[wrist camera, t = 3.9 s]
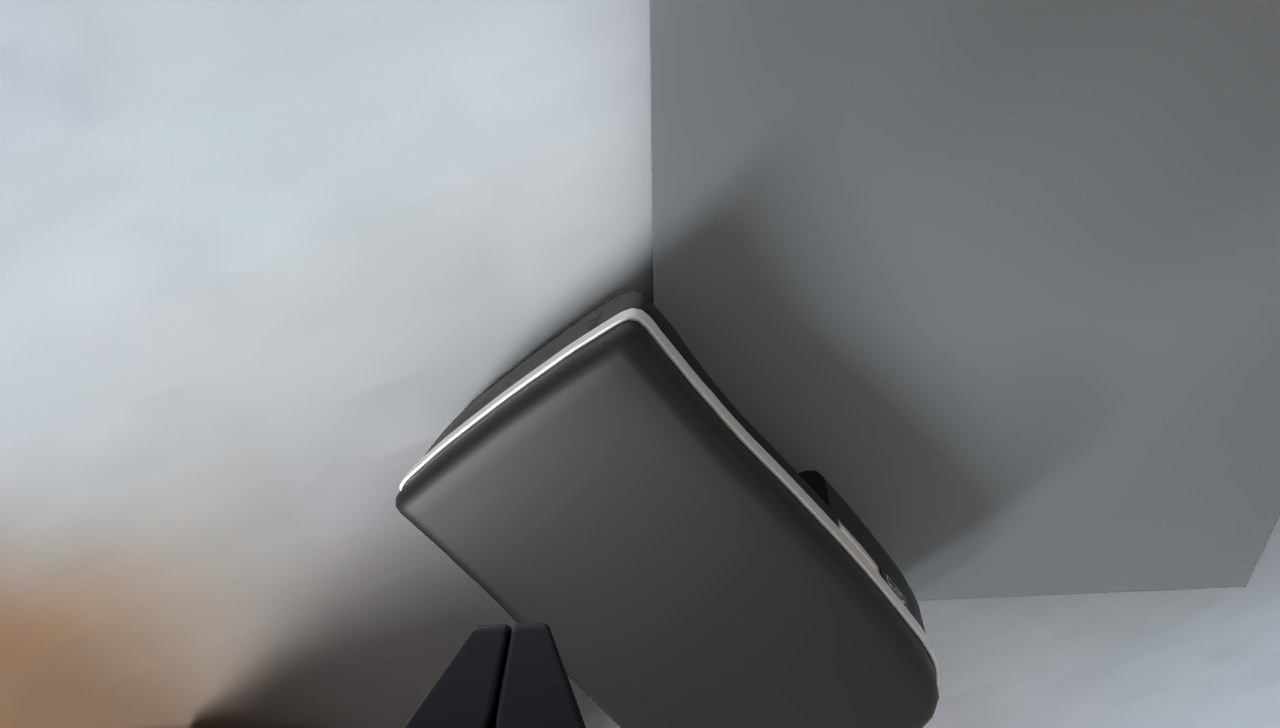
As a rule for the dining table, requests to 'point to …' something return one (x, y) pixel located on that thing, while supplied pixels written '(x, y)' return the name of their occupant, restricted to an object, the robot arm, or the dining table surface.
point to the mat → (989, 272)
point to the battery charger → (670, 542)
